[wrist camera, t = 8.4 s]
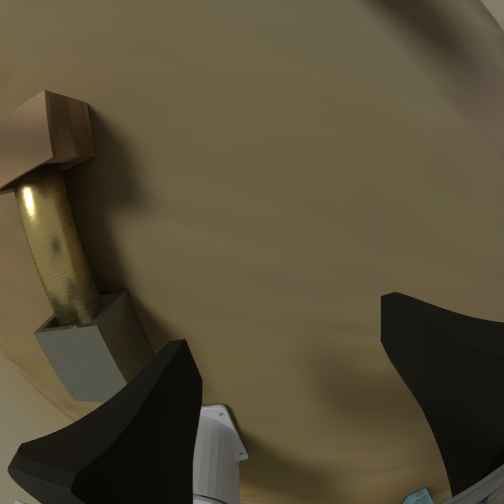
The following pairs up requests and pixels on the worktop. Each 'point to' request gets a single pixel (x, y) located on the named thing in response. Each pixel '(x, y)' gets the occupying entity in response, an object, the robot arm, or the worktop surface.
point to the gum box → (419, 498)
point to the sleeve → (98, 349)
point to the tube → (56, 245)
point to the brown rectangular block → (44, 136)
